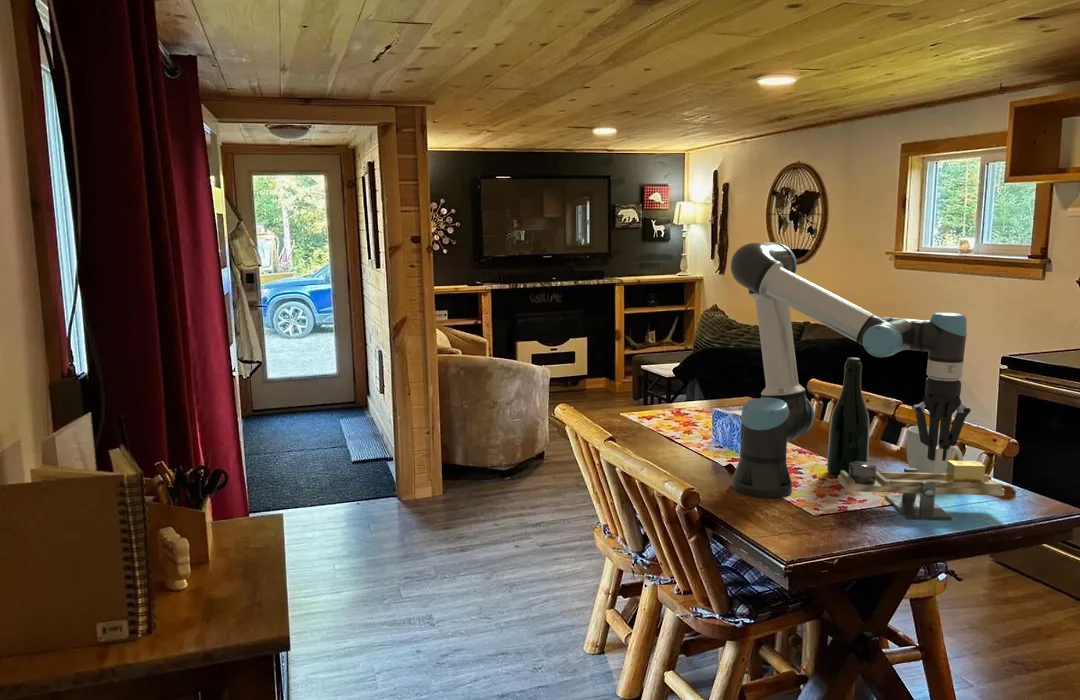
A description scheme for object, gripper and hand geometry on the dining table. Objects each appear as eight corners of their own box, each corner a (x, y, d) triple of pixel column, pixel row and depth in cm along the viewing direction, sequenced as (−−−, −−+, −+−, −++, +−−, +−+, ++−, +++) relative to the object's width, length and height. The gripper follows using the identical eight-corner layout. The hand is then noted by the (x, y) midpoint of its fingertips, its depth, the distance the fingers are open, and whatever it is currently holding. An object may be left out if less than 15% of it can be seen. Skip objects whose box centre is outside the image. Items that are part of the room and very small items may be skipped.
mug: (971, 481, 209) (975, 434, 207) (949, 489, 203) (952, 441, 201) (918, 467, 221) (921, 423, 219) (896, 474, 215) (899, 429, 213)
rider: (953, 485, 186) (954, 465, 185) (945, 480, 190) (947, 460, 189) (983, 486, 185) (985, 466, 184) (975, 480, 189) (977, 461, 188)
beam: (847, 491, 186) (848, 480, 186) (837, 480, 194) (838, 469, 194) (1004, 495, 183) (1005, 484, 183) (987, 484, 191) (988, 473, 191)
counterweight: (852, 484, 187) (853, 468, 186) (845, 476, 193) (846, 460, 192) (878, 485, 186) (879, 469, 186) (870, 477, 192) (871, 461, 192)
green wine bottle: (836, 466, 223) (843, 353, 218) (873, 474, 216) (881, 357, 211) (820, 474, 216) (826, 357, 211) (857, 483, 208) (864, 362, 203)
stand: (907, 519, 182) (910, 485, 181) (885, 497, 197) (887, 465, 196) (951, 520, 182) (954, 486, 180) (925, 498, 196) (928, 466, 195)
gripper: (922, 380, 181) (913, 477, 185) (980, 381, 180) (970, 478, 184) (909, 374, 188) (901, 467, 192) (964, 375, 187) (955, 469, 191)
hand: (935, 473), depth 188 cm, fingers closed
